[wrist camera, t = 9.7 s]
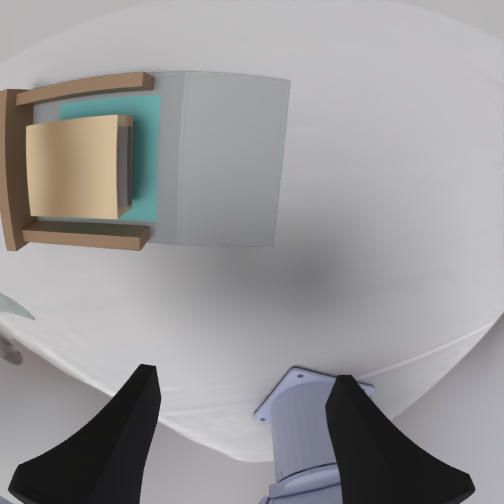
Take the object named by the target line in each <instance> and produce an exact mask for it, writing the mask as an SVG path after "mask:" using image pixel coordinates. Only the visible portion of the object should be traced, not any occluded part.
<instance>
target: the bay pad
mask: <svg viewBox="0 0 504 504" xmlns="http://www.w3.org/2000/svg"><path fill="white" fill-rule="evenodd" d="M160 104H161V95H146V96H129V97H116V98H106V99H96V100H88V101H81V102H74V103H67V104H61V107H60V120H68V119H76V118H85V117H95V116H106V115H134V119H133V121H134V145H133V200H132V208H131V209H130V210H129V211H127V212H126V213H125V214H124V215H122V216H121V217H120V218H119V219H113V220H133V221H151V222H157V160H158V136H159V118H160ZM66 218H76V217H66ZM91 219H100V218H91Z"/></svg>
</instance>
